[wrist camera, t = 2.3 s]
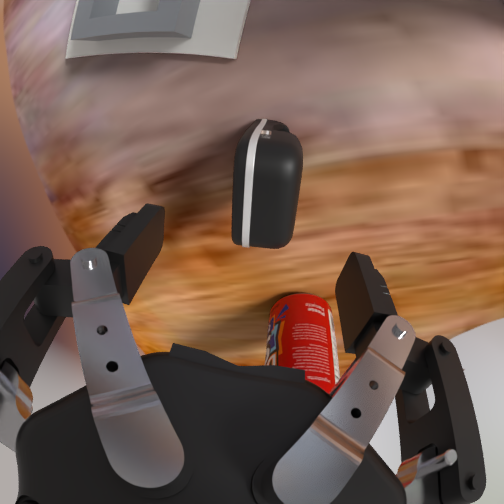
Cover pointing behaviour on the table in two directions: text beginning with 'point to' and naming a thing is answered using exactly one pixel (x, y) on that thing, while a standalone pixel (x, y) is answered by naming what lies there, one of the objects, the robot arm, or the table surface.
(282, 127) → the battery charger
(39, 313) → the robot arm
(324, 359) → the soda can
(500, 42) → the table surface
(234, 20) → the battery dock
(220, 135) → the table surface
